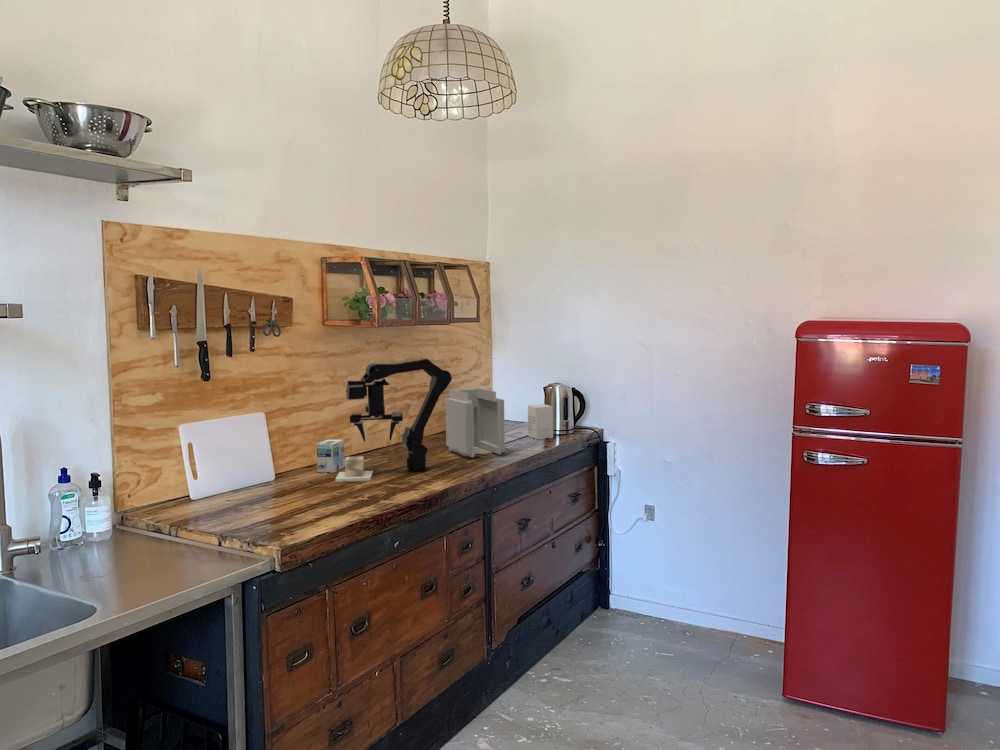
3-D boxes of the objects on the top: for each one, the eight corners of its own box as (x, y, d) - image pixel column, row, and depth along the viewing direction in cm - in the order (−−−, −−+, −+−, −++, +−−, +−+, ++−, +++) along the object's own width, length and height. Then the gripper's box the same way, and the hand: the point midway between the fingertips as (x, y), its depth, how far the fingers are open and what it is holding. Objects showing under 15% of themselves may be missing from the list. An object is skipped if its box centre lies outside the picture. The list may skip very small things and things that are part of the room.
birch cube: (364, 472, 264) (363, 456, 263) (362, 476, 258) (362, 459, 257) (347, 473, 263) (346, 456, 263) (345, 476, 257) (344, 460, 257)
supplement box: (544, 435, 347) (544, 404, 346) (553, 438, 339) (553, 406, 337) (527, 437, 343) (527, 405, 342) (536, 439, 335) (535, 407, 334)
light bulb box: (333, 473, 269) (332, 444, 268) (316, 472, 270) (315, 443, 269) (345, 467, 279) (344, 439, 278) (329, 466, 281) (328, 438, 280)
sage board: (373, 473, 267) (372, 470, 267) (370, 480, 255) (370, 477, 255) (339, 474, 266) (339, 471, 266) (335, 481, 254) (335, 479, 254)
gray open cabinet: (478, 446, 320) (477, 386, 318) (506, 456, 297) (505, 392, 295) (442, 449, 313) (440, 389, 311) (467, 460, 289) (466, 394, 287)
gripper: (402, 394, 274) (404, 436, 275) (351, 396, 272) (353, 438, 273) (401, 398, 263) (403, 441, 264) (348, 400, 261) (350, 443, 262)
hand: (377, 440), depth 266 cm, fingers open, 9 cm apart
